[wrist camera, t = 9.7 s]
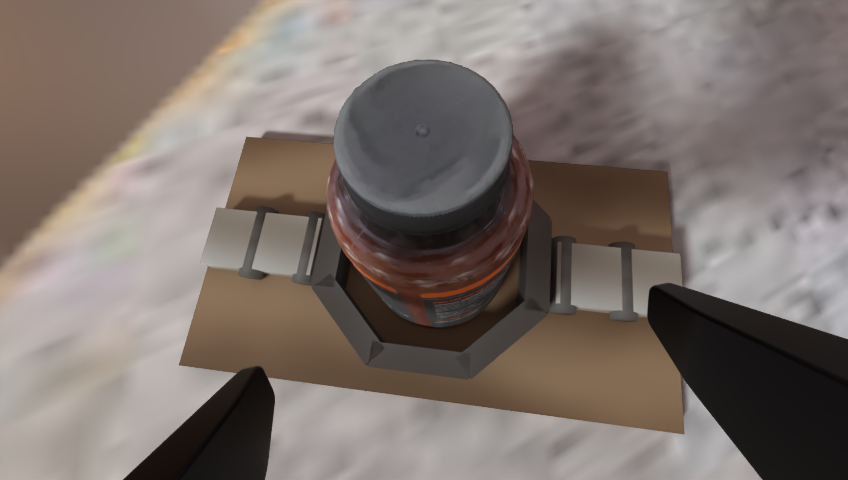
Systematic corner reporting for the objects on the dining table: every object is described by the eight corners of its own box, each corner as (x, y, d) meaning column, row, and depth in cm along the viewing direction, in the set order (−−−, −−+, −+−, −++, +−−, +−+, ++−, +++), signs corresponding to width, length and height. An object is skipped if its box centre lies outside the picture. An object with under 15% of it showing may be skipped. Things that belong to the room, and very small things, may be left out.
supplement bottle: (525, 253, 19) (620, 102, 9) (451, 358, 18) (455, 329, 7) (425, 187, 21) (401, -14, 10) (350, 279, 20) (231, 159, 9)
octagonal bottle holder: (674, 431, 18) (714, 441, 15) (189, 365, 19) (148, 364, 17) (659, 178, 21) (689, 150, 19) (252, 144, 23) (227, 114, 21)
